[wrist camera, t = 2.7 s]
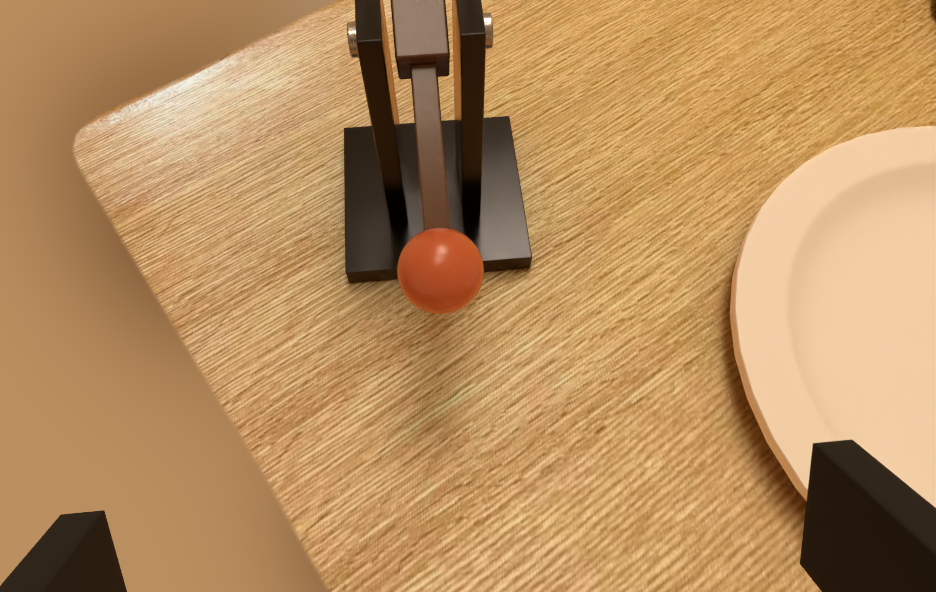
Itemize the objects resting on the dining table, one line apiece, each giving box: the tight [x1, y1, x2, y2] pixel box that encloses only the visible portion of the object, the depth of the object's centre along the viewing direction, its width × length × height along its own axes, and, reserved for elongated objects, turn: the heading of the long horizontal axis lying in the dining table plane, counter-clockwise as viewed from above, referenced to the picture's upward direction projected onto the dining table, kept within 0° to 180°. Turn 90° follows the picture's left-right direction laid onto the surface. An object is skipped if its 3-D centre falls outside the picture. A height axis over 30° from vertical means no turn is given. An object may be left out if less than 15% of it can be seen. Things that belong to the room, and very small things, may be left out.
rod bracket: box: [344, 0, 532, 283], centre depth 32 cm, size 10×10×14 cm
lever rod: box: [391, 0, 484, 314], centre depth 28 cm, size 13×4×4 cm, turn 5°
